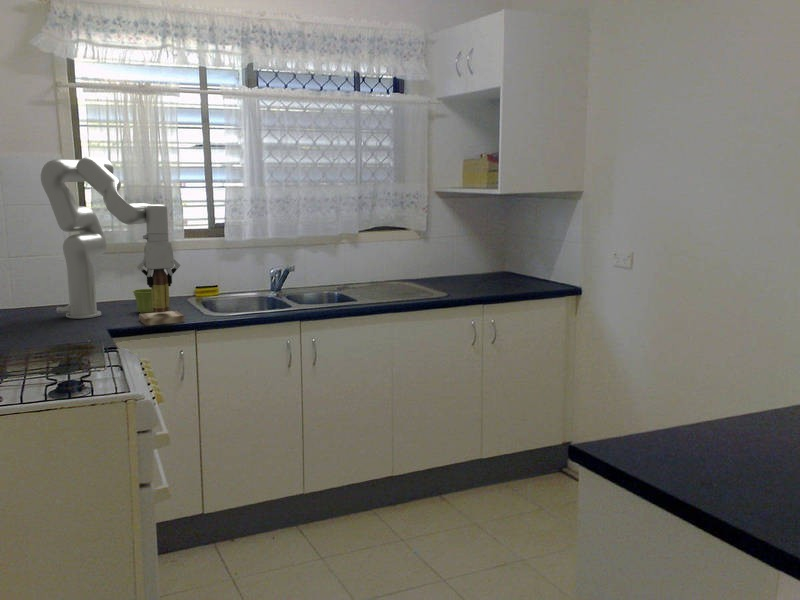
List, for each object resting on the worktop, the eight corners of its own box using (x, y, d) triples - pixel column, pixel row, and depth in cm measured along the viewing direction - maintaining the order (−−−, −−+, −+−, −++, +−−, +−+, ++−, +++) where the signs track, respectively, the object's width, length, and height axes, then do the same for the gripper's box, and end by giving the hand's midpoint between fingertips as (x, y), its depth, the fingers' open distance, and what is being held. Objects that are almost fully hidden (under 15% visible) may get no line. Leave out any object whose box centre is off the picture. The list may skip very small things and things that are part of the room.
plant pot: (147, 308, 305) (146, 287, 303) (163, 311, 300) (162, 289, 298) (128, 312, 297) (127, 290, 295) (145, 314, 292) (143, 293, 290)
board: (145, 325, 271) (145, 318, 271) (139, 320, 281) (139, 313, 280) (184, 322, 278) (184, 315, 278) (177, 317, 288) (176, 310, 287)
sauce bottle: (163, 309, 283) (162, 257, 280) (173, 311, 280) (172, 258, 276) (148, 311, 278) (146, 258, 275) (157, 313, 274) (156, 259, 271)
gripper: (135, 239, 267) (137, 289, 270) (183, 238, 275) (185, 286, 279) (131, 238, 273) (133, 286, 276) (178, 236, 282) (180, 283, 285)
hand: (159, 286), depth 277 cm, fingers closed on sauce bottle, 6 cm apart
